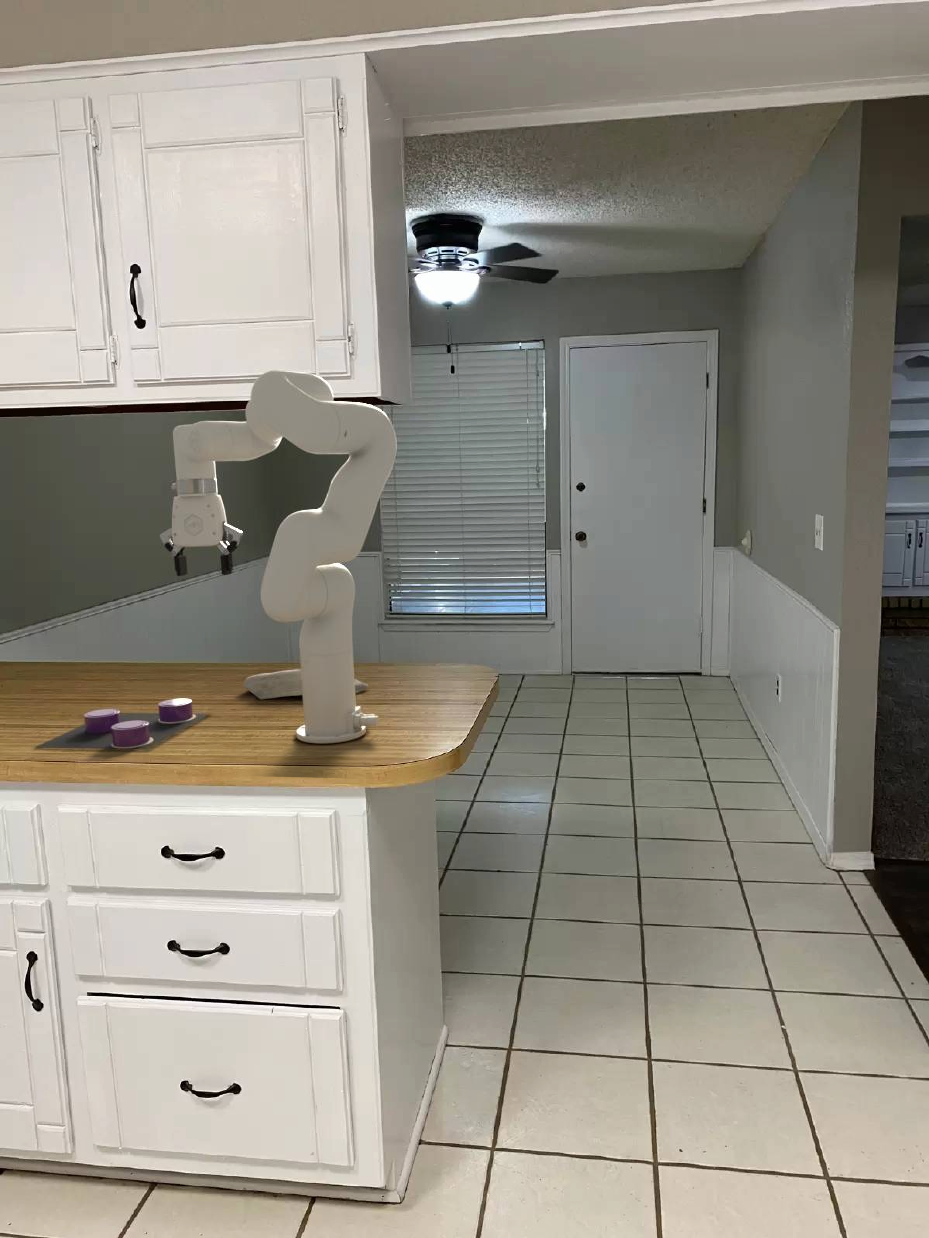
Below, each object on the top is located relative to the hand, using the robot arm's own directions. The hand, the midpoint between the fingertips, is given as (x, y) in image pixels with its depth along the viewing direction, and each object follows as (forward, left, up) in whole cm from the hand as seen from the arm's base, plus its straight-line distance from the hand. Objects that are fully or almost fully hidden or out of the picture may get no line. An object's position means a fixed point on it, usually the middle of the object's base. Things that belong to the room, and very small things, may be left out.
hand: (204, 574), depth 180 cm
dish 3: (+5, +7, -28) cm, 29 cm away
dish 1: (+16, +15, -28) cm, 35 cm away
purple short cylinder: (+5, +23, -28) cm, 37 cm away
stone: (-12, -17, -28) cm, 35 cm away
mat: (+11, +15, -28) cm, 34 cm away
